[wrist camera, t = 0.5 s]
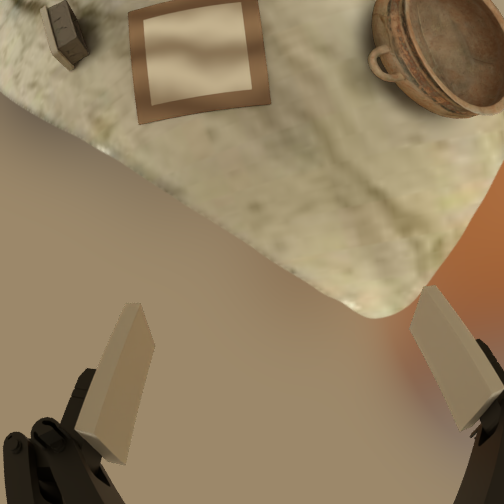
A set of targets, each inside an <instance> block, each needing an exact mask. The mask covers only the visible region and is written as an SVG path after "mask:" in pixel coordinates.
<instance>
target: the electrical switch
mask: <svg viewBox="0 0 504 504" xmlns="http://www.w3.org/2000/svg"><path fill="white" fill-rule="evenodd" d="M40 12H41V16H42V20H43V24H44V28H45V32H46V36H47V40H48V43H49V47H50V50H51V53H52V55H53V56H54V57H55V58H56V59H57V60H58V61H59V62H60V63H61V64H62V65H63V66H64V67H66V68H67V69H68V70H69V71H70V70H72V69H74V68H75V67H74V63H76V62H78V61H79V60H81V59H82V58H84V57H86V56H88V55H89V53H88V51H87V48H86V45H85V42H84V39H83V36H82V33H81V30H80V27H79V23H78V20H77V18H76V16H75V15H74V13H73V11H72V9H71V8H70V6H69V4H68V2H67V1H66V0H64V1H62V2H61V3H59V4H56V5H54V6H52V7H50V8H47V6H46V5H45V6H44V7H42V8H41V9H40ZM76 20H77V21H76ZM74 21H75V22H74ZM77 32H78V33H77Z"/></svg>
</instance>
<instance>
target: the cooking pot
mask: <svg viewBox="0 0 504 504" xmlns="http://www.w3.org/2000/svg"><path fill="white" fill-rule="evenodd" d="M372 31H373V38H374V42H375V46H376V48H375V49H374V50H372V51H371V53H370V54H369V56H368V64H369V66H370V68H371V70H372V72H373V73H374V74H375V75H376V76H377V77H378V78H380V79H382V80H384V81H387V82H395V83H396V84H397V86H398V87H399V88H400V89H401V90H402V91H403V92H404V93H405V94H406V95H407V96H408V97H410V98H411V99H412V100H414V101H415V102H416V103H417V104H419V105H420V106H422V107H424V108H425V109H427V110H429V111H430V112H433V113H435V114H438V115H441V116H444V117H450V118H456V119H458V118H470V117H473V116H476V115H479V114H480V115H495V114H498V113H500V112H502V111H503V110H504V18H503V16H502V15H501V13H500V12H499V10H498V9H497V7H496V6H495V5H494V4H493V2H492V1H491V0H376V2H375V6H374V10H373V14H372ZM378 57H380V59H381V61H382V64H383V65H384V67H385V69H386V70H387V72H388V74H387V73H385V72H383V71H382V70H381V69H380V67H379V66H378V64H377V61H376V60H377V58H378Z"/></svg>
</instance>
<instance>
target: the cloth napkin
mask: <svg viewBox="0 0 504 504" xmlns="http://www.w3.org/2000/svg"><path fill="white" fill-rule="evenodd" d="M128 20H129V38H130V51H131V63H132V73H133V83H134V92H135V100H136V108H137V116H138V123H139V125H141V124H145V123H149V122H154V121H158V120H163V119H168V118H173V117H178V116H184V115H190V114H195V113H201V112H208V111H215V110H222V109H229V108H237V107H246V106H256V105H267V104H271V99H270V90H269V82H268V73H267V65H266V57H265V50H264V42H263V35H262V27H261V20H260V13H259V6H258V0H172V1H168V2H164V3H160V4H156V5H152V6H148V7H145V8H141V9H138V10H134V11H131V12H128Z"/></svg>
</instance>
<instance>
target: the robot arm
mask: <svg viewBox="0 0 504 504" xmlns="http://www.w3.org/2000/svg"><path fill="white" fill-rule="evenodd" d="M409 330H410V332H411V333H412V335H413V337H414V339H415V341H416V343H417V344H418V346H419V348H420V350H421V352H422V354H423V356H424V357H425V360H426V362H427V364H428V366H429V367H430V369H431V371H432V373H433V375H434V377H435V380H436V382H437V383H438V386H439V388H440V390H441V392H442V394H443V396H444V398H445V400H446V403H447V405H448V407H449V409H450V411H451V414H452V416H453V418H454V421H455V423H456V425H457V427H458V430H459V431H463V430H465V429H467V428H470V427H472V426H473V425H474V424H475V423H476V422H477V421H478V420H479V419H480V421H481V424H480V425H479V426H478V427H477V428H476V430H475V431H473V432H472V434H471V435H470V438H472V437H473V436H474V435H475V434H476V433H477V435H476V437H475V442H474V446H473V449H472V453H471V456H470V460H469V463H468V466H467V469H466V472H465V475H464V478H463V480H462V483H461V486H460V488H459V491H458V494H457V496H456V499H455V501H454V503H453V504H504V371H503V369H502V367H501V366H500V364H499V363H498V362H497V360H496V358H495V356H493V354H492V352H491V350H490V349H489V347H488V346H487V345H486V344H485V343H483V342H482V341H481V340H480V339H477V340H475V339H474V338H473V336H472V335H471V333H470V332H469V330H468V329H467V327H466V326H465V324H464V323H463V322H462V320H461V319H460V317H459V316H458V315H457V313H456V312H455V310H454V309H453V308H452V306H451V305H450V304H449V302H448V301H447V300H446V298H445V297H444V296H443V295H442V293H441V292H440V291H439V289H438V288H437V287H436V286H435V285H434V286H425V287H423V289H422V292H421V296H420V299H419V302H418V305H417V308H416V311H415V314H414V316H413V319H412V322H411V325H410V328H409ZM154 349H155V343H154V341H153V338H152V335H151V332H150V329H149V326H148V323H147V321H146V318H145V315H144V311H143V308H142V305H141V303H126V304H125V306H124V308H123V310H122V312H121V314H120V317H119V319H118V321H117V323H116V325H115V328H114V330H113V332H112V334H111V337H110V339H109V341H108V343H107V346H106V348H105V350H104V353H103V355H102V358H101V360H100V362H99V365H98V367H97V369H89V368H87V369H86V370H85V371H84V372H83V373H82V374H81V375H80V376H79V378H78V380H77V383H76V385H75V389H74V390H73V392H72V395H71V396H72V397H71V398H70V400H69V402H68V405H67V407H66V410H65V413H64V415H63V418H62V420H61V423H60V424H59V423H58V422H57V421H56V420H55V419H53V418H49V417H46V418H42V419H40V420H38V421H37V422H36V423H35V424H34V426H33V427H32V430H31V439H28V438H27V437H26V436H25V435H23V434H22V433H20V432H13V433H10V434H9V435H8V436H7V437H6V439H5V441H4V446H3V457H4V477H5V488H6V496H7V504H125V503H124V501H123V500H122V498H121V496H120V495H119V493H118V492H117V490H116V488H115V487H114V485H113V483H112V482H111V480H110V478H109V476H108V475H107V473H106V471H105V469H104V468H103V466H102V465H101V463H100V462H101V458H102V457H103V458H104V459H106V460H107V461H108V462H112V463H116V464H121V465H126V461H127V456H128V452H129V447H130V442H131V438H132V434H133V429H134V424H135V420H136V417H137V413H138V408H139V404H140V400H141V396H142V393H143V389H144V385H145V381H146V377H147V374H148V370H149V366H150V363H151V359H152V356H153V352H154Z"/></svg>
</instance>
